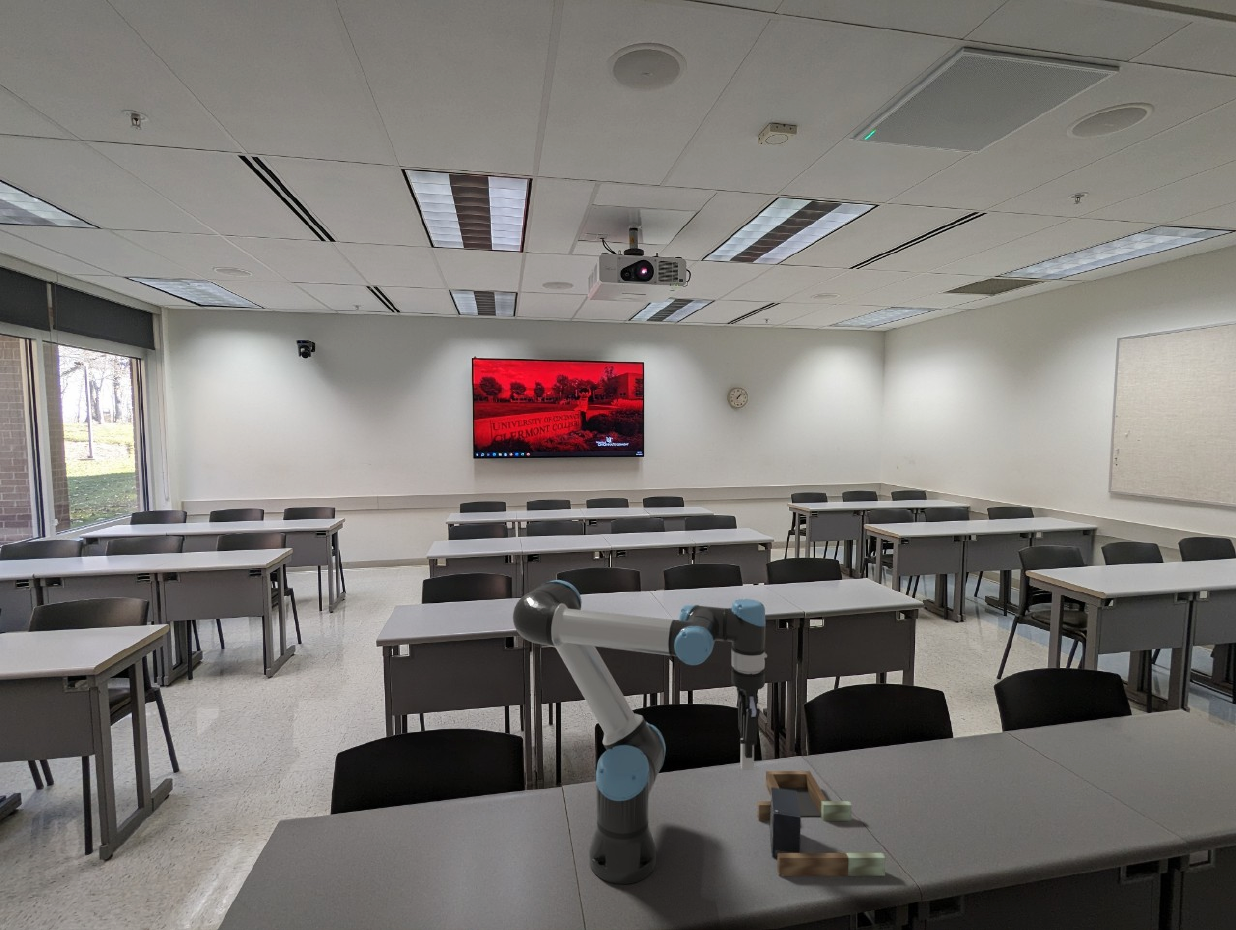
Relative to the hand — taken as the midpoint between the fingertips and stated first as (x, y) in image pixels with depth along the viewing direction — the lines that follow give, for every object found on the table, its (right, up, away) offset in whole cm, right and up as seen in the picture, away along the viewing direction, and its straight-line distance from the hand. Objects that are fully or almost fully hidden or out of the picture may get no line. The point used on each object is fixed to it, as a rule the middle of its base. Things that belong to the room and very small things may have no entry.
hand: (747, 767), depth 138 cm
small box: (+9, -19, +1) cm, 21 cm away
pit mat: (+16, -18, +17) cm, 29 cm away
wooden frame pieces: (+16, -18, +8) cm, 26 cm away
